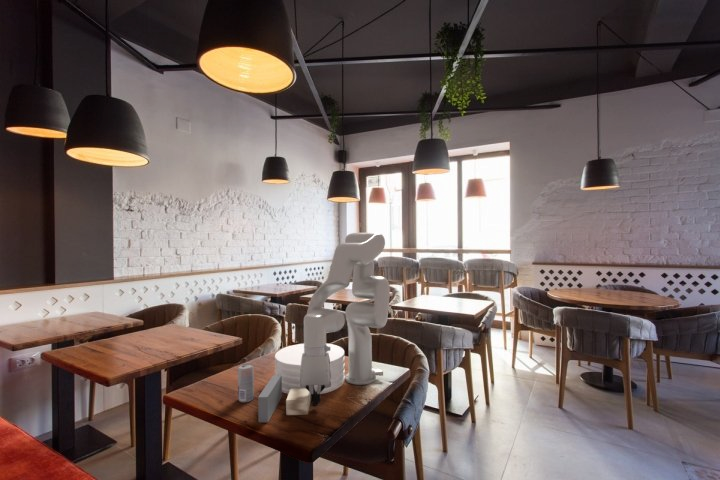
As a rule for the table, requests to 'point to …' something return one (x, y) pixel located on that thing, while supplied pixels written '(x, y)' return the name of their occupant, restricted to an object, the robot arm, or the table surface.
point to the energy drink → (245, 383)
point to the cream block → (298, 401)
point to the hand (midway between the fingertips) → (315, 404)
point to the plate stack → (291, 364)
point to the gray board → (269, 398)
